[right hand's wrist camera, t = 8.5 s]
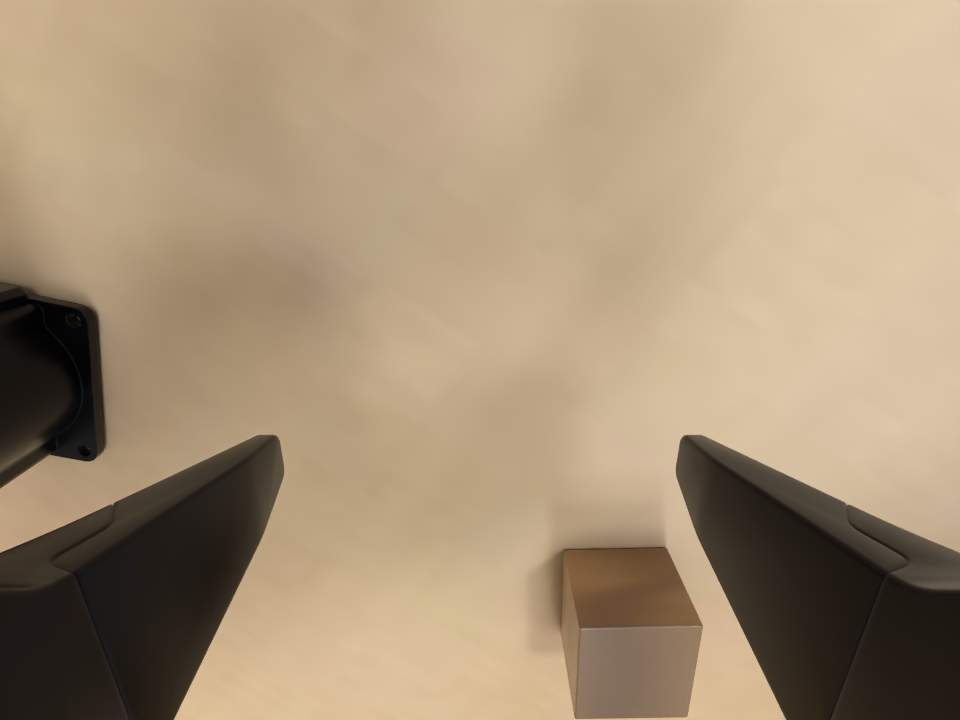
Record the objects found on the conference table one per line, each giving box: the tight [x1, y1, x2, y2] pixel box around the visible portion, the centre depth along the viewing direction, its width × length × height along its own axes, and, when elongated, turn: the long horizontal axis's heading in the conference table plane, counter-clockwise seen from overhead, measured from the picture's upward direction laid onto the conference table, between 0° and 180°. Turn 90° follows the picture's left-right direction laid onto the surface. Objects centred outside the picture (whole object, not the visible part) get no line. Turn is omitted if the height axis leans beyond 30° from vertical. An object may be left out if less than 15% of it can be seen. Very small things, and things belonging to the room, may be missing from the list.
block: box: [561, 548, 703, 719], centre depth 22 cm, size 4×5×4 cm
